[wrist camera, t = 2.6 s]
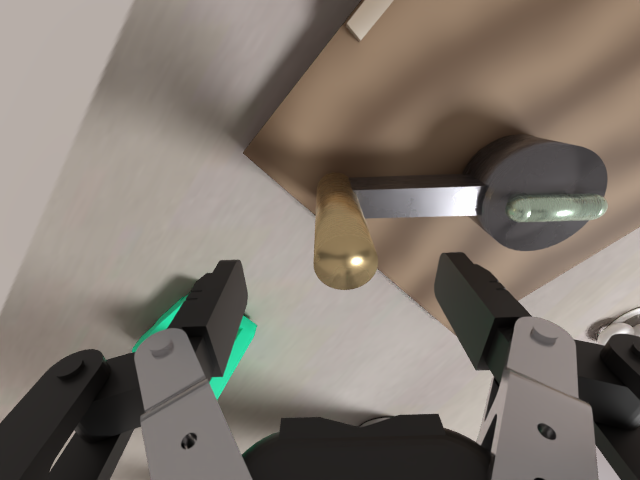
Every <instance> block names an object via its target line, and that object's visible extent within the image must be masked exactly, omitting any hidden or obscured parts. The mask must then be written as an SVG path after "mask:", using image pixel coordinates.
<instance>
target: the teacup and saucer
mask: <svg viewBox="0 0 640 480" xmlns="http://www.w3.org/2000/svg"><path fill="white" fill-rule="evenodd" d="M638 314H640V307H639V308H637V309H634V310H632V311H629V312H627V313H626V314H624V315H622V316H620V317H619V318H618V319H616V320H615V321H614V322H613V323H611V324H610V325H609V326H608V327H607V328H605V329H604V330H603V331H602V332H601V333H600V334H599V336H598V344H599V345H604V346H605V344H606V343H607V341H608V340H609V338H610V337H611V336H612V335H614V334H630V335H635V336H639V337H640V324H638V325H636V326H634V327H632V326H630V325H628V324H625V323H623V322H624V321H626V320H627V319H629V318H631V317H633V316H635V315H638Z"/></svg>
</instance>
